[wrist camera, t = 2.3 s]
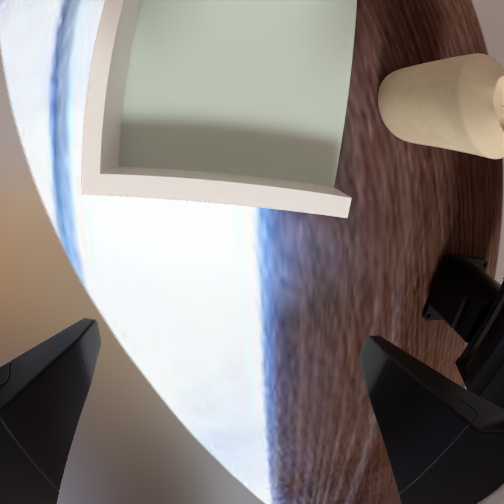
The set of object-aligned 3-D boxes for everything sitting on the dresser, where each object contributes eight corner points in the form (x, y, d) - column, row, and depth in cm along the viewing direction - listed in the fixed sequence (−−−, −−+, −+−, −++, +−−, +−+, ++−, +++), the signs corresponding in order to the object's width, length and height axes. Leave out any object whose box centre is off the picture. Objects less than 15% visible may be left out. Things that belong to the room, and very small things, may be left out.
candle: (446, 126, 18) (547, 142, 9) (396, 154, 19) (499, 183, 10) (417, 60, 16) (517, 43, 7) (362, 84, 17) (461, 63, 8)
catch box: (355, -12, 14) (375, -30, 11) (328, 203, 20) (347, 218, 17) (138, -35, 12) (124, -58, 9) (103, 183, 18) (81, 194, 15)
